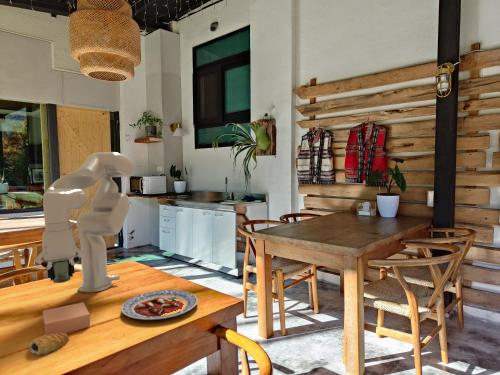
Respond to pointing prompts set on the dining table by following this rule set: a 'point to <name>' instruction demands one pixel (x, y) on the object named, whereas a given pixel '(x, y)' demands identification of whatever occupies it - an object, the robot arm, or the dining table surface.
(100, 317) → the dining table surface
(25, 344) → the dining table surface
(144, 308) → the ceramic plate
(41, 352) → the pastry
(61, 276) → the tea tin
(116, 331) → the dining table surface
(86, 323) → the terracotta stand
